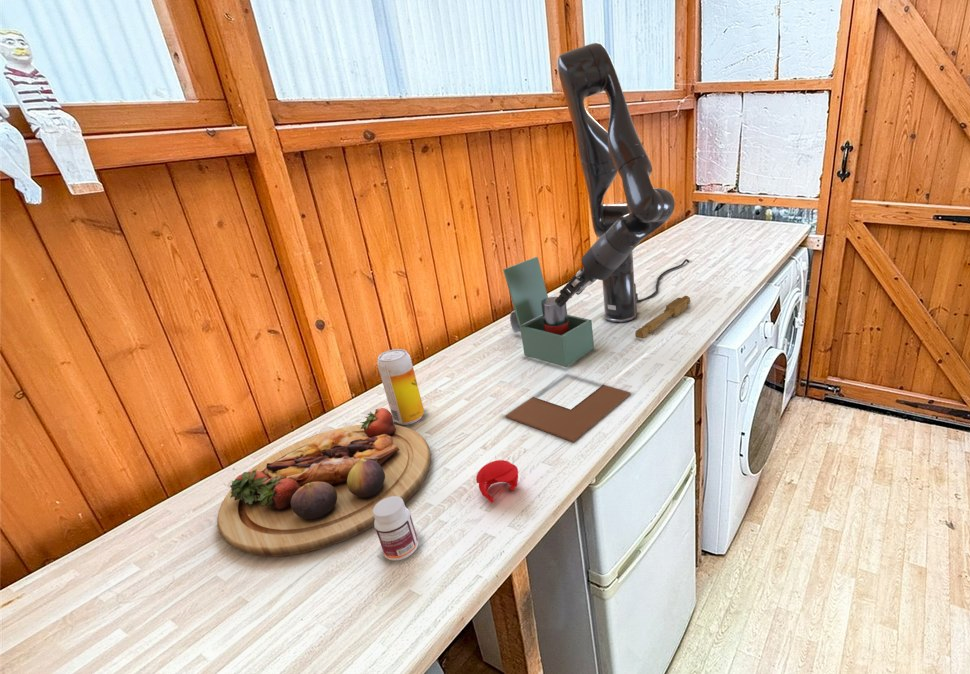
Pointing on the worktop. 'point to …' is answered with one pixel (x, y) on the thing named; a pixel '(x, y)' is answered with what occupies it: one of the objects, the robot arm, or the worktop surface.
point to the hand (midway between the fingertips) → (566, 297)
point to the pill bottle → (395, 528)
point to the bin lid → (526, 289)
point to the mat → (568, 413)
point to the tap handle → (664, 316)
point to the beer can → (400, 386)
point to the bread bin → (557, 341)
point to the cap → (496, 476)
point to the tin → (554, 316)
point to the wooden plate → (323, 487)
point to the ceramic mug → (516, 322)
